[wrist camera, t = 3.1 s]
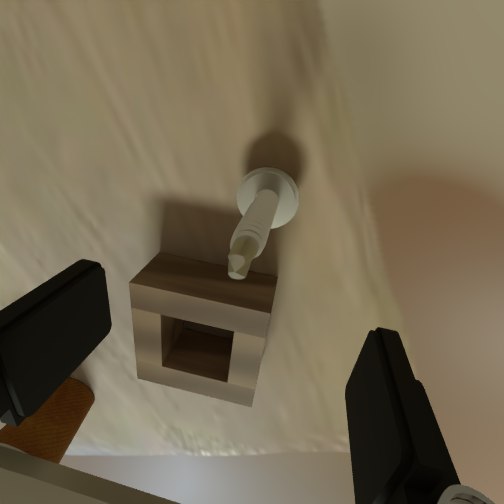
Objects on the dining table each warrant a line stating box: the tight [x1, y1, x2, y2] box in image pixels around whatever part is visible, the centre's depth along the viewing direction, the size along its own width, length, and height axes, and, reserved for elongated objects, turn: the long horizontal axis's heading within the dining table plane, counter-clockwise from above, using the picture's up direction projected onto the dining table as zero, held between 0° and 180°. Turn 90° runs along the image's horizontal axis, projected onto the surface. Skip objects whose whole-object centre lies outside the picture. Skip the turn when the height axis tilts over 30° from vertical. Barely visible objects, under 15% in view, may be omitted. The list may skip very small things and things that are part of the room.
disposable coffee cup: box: [0, 378, 94, 464], centre depth 38 cm, size 10×10×12 cm
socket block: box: [129, 253, 278, 407], centre depth 29 cm, size 12×12×6 cm
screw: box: [228, 167, 299, 279], centre depth 18 cm, size 13×5×5 cm
